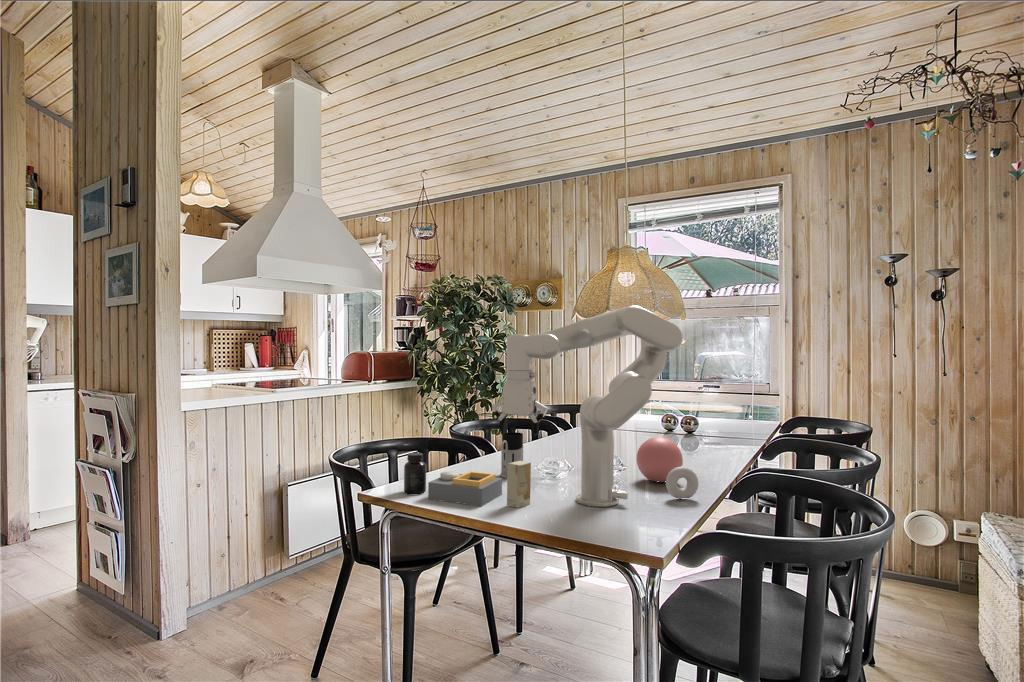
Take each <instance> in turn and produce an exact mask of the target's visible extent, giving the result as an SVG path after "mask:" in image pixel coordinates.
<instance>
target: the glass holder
mask: <svg viewBox="0 0 1024 682" xmlns="http://www.w3.org/2000/svg"><path fill="white" fill-rule="evenodd" d="M500 453H501V462H500V463H501V467H500V469H501V471H500V475H499V476H502V477H501V478H503V477H506V478H505V479H507V471H508V463H512V462H517V461H524V434H523V433H522V432H514V431H513V432H510V431H509V432H508V431H507V433H506V434H503V435H502V434H501V448H500Z"/></svg>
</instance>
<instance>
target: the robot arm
mask: <svg viewBox="0 0 1024 682" xmlns="http://www.w3.org/2000/svg"><path fill="white" fill-rule="evenodd" d="M630 335H631V336H632V335H633V336H635V337H636V338H638V339H640V352H639V354H638V357H636V359H634V360H633V361H632V362H631V363H630V364H629V365H628V366H627V367H626V368H625V369H623V370H622V371H621V372H619V373H618V374H617V375H616V376H614V377H613V378H612V379H611V381H610V383H609V385H608V393H607V394H606V395H605V396H604V395H600V394H593V395H590V396H588V397H586V398H585V399H583V401H582V402H581V405H580V408H579V421H580V430H581V461H580V462H581V467H580V468H581V470H580V471H581V473H580V474H581V475H580V476H581V480H580V481H581V483H580V485H581V486H580V489H581V492H580V493H578V494H577V495H576V496H575V501H576V502H577V503H579V504H581V505H583V506H584V505H585V506H589V507H599V508H601V507H602V508H605V507H606V508H608V507H613V506H615V505H618V504H619V503H620V502H619V499H621V500H628V499H629V493H628V492H626V491H624V490H618V489H617V485H614V479H615V478H614V472H615V469H614V462H615V461H614V460H615V459H614V457H615V456H614V455H615V454H614V451H615V450H614V449H615V441H614V440H615V439H614V431H615V430H618V429H619V428H620V427H622V426H623V425H625V424H626V423H627V422H628V421H629V420H630V419H631V418H632V417H633V416H634V415H635V416H636V414H637V413H638V412H640V411H641V410H642V409H643V408H644V407H645V406H646V405H647V404H648V402H649V401H650V399H651V396H652V393H653V389H652V384H653V382H655V381H656V380H657V379H658V378H659V377H660V376H661V374H662V373H663V371H664V370H665V366H666V362H667V353H670V352H673V351H675V350H677V349H678V348H679V347H680V346H681V345H682V343H683V332H682V330H681V329H680V328H679V326H678V325H677V324H676V323H673V322H671V321H670V320H668V319H665V318H664V317H661V316H660V315H658V314H656V313H654V312H652V311H650V310H648V309H646V308H643V307H642V306H639V305H629V306H625V307H620V308H617V309H613V310H609V311H607V312H603V313H600V314H596V315H595V316H594V315H593V316H590V317H587V318H583V319H581V320H578V321H575V322H573V323H570V324H568V325H564V326H562V327H558V328H556V329H552V330H549V331H545V332H542V333H539V334H532V335H531V334H524V333H521V334H520V333H519V334H518V333H515V334H512V333H511V334H509V335H508V336H507V337H506V380H504V382H503V387H502V392H501V393H502V394H501V400H500V401H498V402H495V403H493V404H492V405H491V409H492V410H493V412H494V416H495V417H497V420H498V421H499V431H500V435H501V436H502V435H503V434H506V433H507V432H508V420H507V418H508V417H509V416H518V417H519V416H521V417H523V416H524V417H529V418H530V419H531V421H532V423H531V424H530V425H531V437H533V438H535V437H537V436H538V435H539V433H540V432H539V431H540V429H539V428H540V421H542V420H543V419H544V418H545V415H546V414H547V411H548V407H547V406H546V405H544V404H542V403H540V402H539V401H538V392H537V384H536V381H534V378H537V372H534V371H533V359H539V360H551V359H554V358H555V357H556V356H557V355H558V354H560V353H563V352H568V351H570V350H577V349H585V348H591V347H595V346H597V345H598V346H599V345H601V344H605V343H607V342H611V341H613V340H616V339H620V338H622V337H623V338H624V337H626V336H630ZM500 407H501V411H500V409H499V408H500ZM539 410H540V413H539V414H537V413H538V412H539Z"/></svg>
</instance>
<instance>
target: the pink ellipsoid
mask: <svg viewBox="0 0 1024 682" xmlns="http://www.w3.org/2000/svg"><path fill="white" fill-rule="evenodd" d="M683 463H684V459H683V454H682V451H681V449H680V448H679V446H678V445H677V444H676V442H674V441H672V440H671V439H669V438H666V437H662V436H654V437H651V438H648V439H646V440H645V441H643V442H642V443H641V445H640V446H639V448H638V450H637V453H636V465H637V468H638V470H639V472H640V473H641V474H642V475H643V476H644V477H645V478H646V480H647V479H648V480H649V481H651V480H652V481H651V482H653V481H659V482H664V483H666V482H665V481H666V478H667V476H668V474H669V472H670V471H671V470H672V469H674V468H676V467H683Z"/></svg>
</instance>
